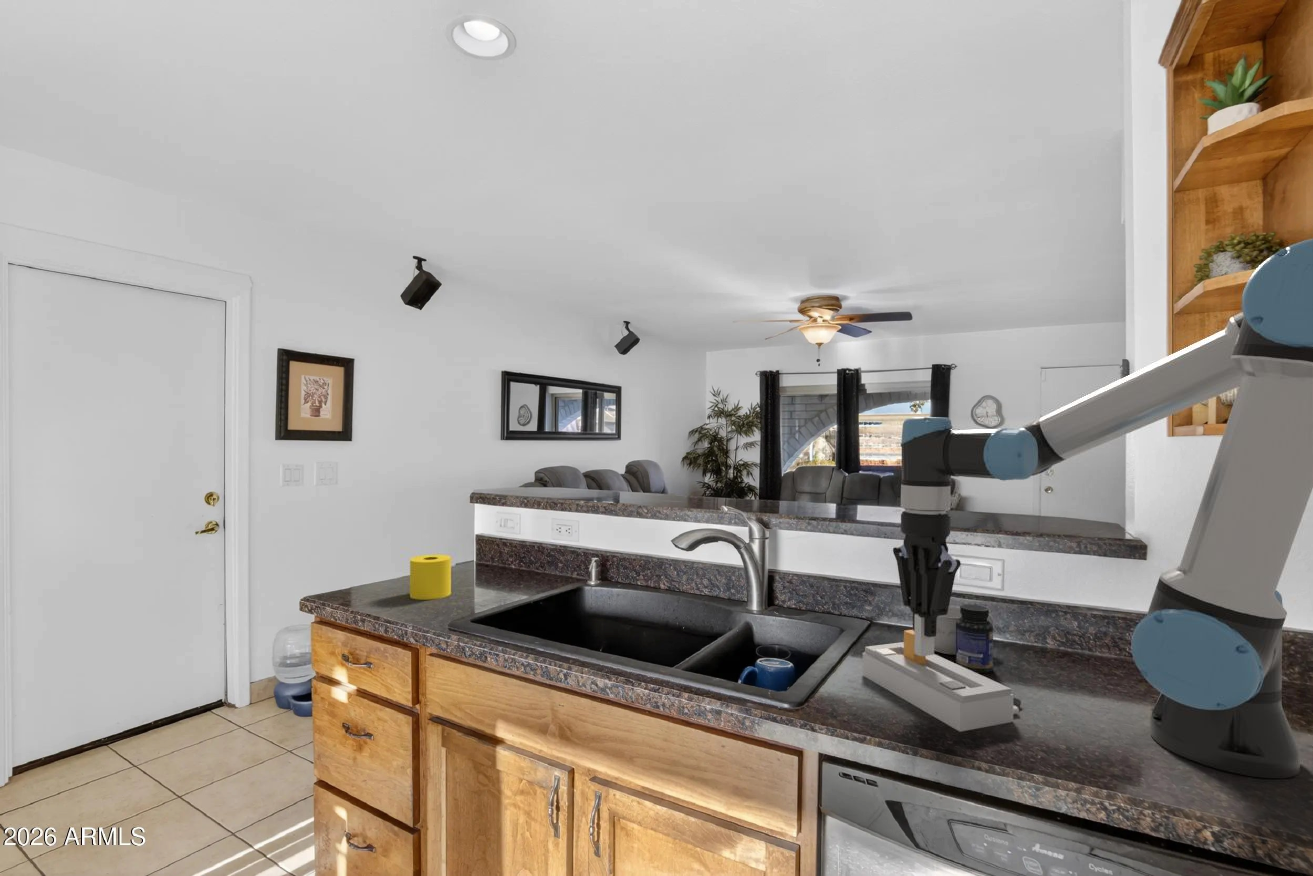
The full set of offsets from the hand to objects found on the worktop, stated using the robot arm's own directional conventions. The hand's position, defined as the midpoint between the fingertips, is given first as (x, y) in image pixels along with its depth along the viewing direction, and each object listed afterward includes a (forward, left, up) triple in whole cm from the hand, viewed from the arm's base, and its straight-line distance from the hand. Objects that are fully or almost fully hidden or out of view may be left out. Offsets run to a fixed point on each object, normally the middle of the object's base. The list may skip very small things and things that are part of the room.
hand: (924, 654), depth 103 cm
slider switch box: (-2, 0, -6) cm, 7 cm away
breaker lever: (+2, 0, -2) cm, 3 cm away
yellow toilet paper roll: (+90, +78, -7) cm, 119 cm away
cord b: (-1, -9, -6) cm, 11 cm away
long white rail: (-2, -6, -6) cm, 9 cm away
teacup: (+14, -21, -7) cm, 26 cm away
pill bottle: (+6, -17, -7) cm, 19 cm away
